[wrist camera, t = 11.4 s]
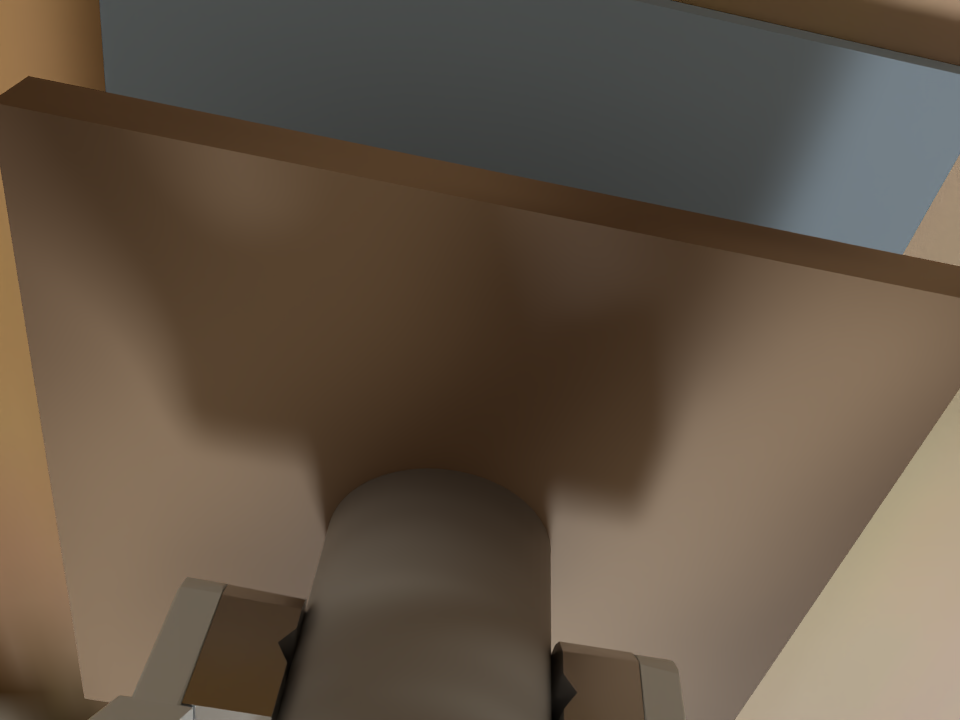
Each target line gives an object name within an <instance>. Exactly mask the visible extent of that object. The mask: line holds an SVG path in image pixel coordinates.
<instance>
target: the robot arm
mask: <svg viewBox="0 0 960 720" xmlns="http://www.w3.org/2000/svg"><path fill="white" fill-rule="evenodd" d="M306 604H307V599H303V598H298V597H293V596H287V595H282V594H277V593H271V592H266V591H261V590H255V589H250V588H245V587H240V586H234V585H229V584H226V583H220V582H214V581H208V580H202V579H196V578H191V577H186V579H185V580H184V581H183V583H182V584H181V586H180V587H179V588H178V590H177V593H176V595H175V597H174V600H173V602H172V604H171V607H170V609H169V611H168V614H167V616H166V618H165V621H164V623H163V625H162V628H161V630H160V632H159V635H158V637H157V639H156V642H155V644H154V646H153V649H152V651H151V653H150V656H149V658H148V660H147V663H146V665H145V667H144V670H143V672H142V674H141V677H140V679H139V681H138V684H137V686H136V688H135V691H134V693H133V695H132V697H130V696H122V695H119V696H118V697H116V698H115V699H114V700H113V701H111V702H110V703H109V704H107V705H106V706H105V707H104V708H102V709H101V710H100V711H98V712H97V713H96V714H95V715H93V716H92V717H91V718H89V719H88V720H277V718H278V714H279V710H280V707H281V703H282V699H283V696H284V692H285V685H286V681H287V677H288V674H289V670H290V666H291V663H292V661H293V658H294V655H295V652H296V648H297V644H298V640H299V636H300V633H301V629H302V625H303V621H304V618H305V614H306ZM551 714H552V720H686V718H685V711H684V704H683V698H682V691H681V684H680V677H679V670H678V668H677V666H676V665H675V663H674V661H671V660H669V659H662V658H655V657H648V656H642V655H635V654H633V653H632V652H625V651H619V650H612V649H606V648H599V647H593V646H587V645H580V644H574V643H567V642H561V641H559V642H558V643H557V644H556V645H555V646H554V649H553V651H552V653H551Z"/></svg>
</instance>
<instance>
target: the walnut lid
mask: <svg viewBox="0 0 960 720" xmlns="http://www.w3.org/2000/svg"><path fill="white" fill-rule="evenodd" d="M0 167H1V174H2V180H3V186H4V193H5V199H6V205H7V212H8V218H9V224H10V231H11V237H12V243H13V250H14V256H15V262H16V268H17V275H18V281H19V287H20V294H21V300H22V306H23V313H24V319H25V325H26V332H27V338H28V344H29V351H30V357H31V363H32V369H33V376H34V382H35V388H36V395H37V401H38V407H39V414H40V420H41V426H42V433H43V439H44V445H45V452H46V458H47V464H48V471H49V477H50V483H51V489H52V496H53V502H54V508H55V515H56V521H57V527H58V534H59V540H60V546H61V553H62V559H63V565H64V572H65V578H66V584H67V590H68V597H69V603H70V609H71V616H72V622H73V628H74V635H75V641H76V647H77V654H78V660H79V666H80V673H81V679H82V685H83V691H84V698H85V699H91V700H98V701H104V702H111V701H113V700H114V699H115V698H116V697H118V696H119V695H122V696H130V697H132V695H133V693H134V691H135V688H136V686H137V684H138V681H139V679H140V677H141V674H142V672H143V670H144V667H145V665H146V663H147V660H148V658H149V656H150V653H151V651H152V649H153V646H154V644H155V642H156V639H157V637H158V635H159V632H160V630H161V628H162V625H163V623H164V621H165V618H166V616H167V614H168V611H169V609H170V607H171V604H172V602H173V600H174V597H175V595H176V593H177V590H178V588H179V587H180V586H181V584H182V583H183V581H184V580H185V579H186V577H191V578H196V579H202V580H208V581H214V582H220V583H226V584H229V585H234V586H240V587H245V588H250V589H255V590H261V591H266V592H271V593H277V594H282V595H287V596H293V597H298V598H303V599H307V604H306V614H305V618H304V621H303V625H302V629H301V633H300V636H299V640H298V644H297V648H296V652H295V655H294V658H293V661H292V663H291V666H290V670H289V674H288V677H287V681H286V685H285V692H284V696H283V699H282V703H281V707H280V710H279V714H278V718H277V720H552V714H551V653H552V651H553V649H554V646H555V645H556V644H557V643H558V642H559V641H561V642H567V643H574V644H580V645H587V646H593V647H599V648H606V649H612V650H619V651H625V652H632V653H633V654H635V655H642V656H648V657H655V658H662V659H669V660H671V661H674V663H675V665H676V666H677V668H678V670H679V677H680V684H681V691H682V698H683V704H684V711H685V718H686V720H735V719H736V717H737V716H738V714H739V713H740V711H741V710H742V708H743V707H744V705H745V704H746V702H747V701H748V699H749V698H750V696H751V695H752V694H753V692H754V691H755V689H756V688H757V686H758V685H759V683H760V682H761V680H762V679H763V677H764V676H765V674H766V673H767V671H768V670H769V668H770V667H771V666H772V664H773V663H774V661H775V660H776V658H777V657H778V655H779V654H780V652H781V651H782V649H783V648H784V646H785V645H786V643H787V642H788V641H789V639H790V638H791V636H792V635H793V633H794V632H795V630H796V629H797V627H798V626H799V624H800V623H801V621H802V620H803V618H804V617H805V615H806V614H807V613H808V611H809V610H810V608H811V607H812V605H813V604H814V602H815V601H816V599H817V598H818V596H819V595H820V593H821V592H822V590H823V589H824V587H825V586H826V585H827V583H828V582H829V580H830V579H831V577H832V576H833V574H834V573H835V571H836V570H837V568H838V567H839V565H840V564H841V562H842V561H843V559H844V558H845V557H846V555H847V554H848V552H849V551H850V549H851V548H852V546H853V545H854V543H855V542H856V540H857V539H858V537H859V536H860V534H861V533H862V531H863V530H864V529H865V527H866V526H867V524H868V523H869V521H870V520H871V518H872V517H873V515H874V514H875V512H876V511H877V509H878V508H879V506H880V505H881V503H882V502H883V501H884V499H885V498H886V496H887V495H888V493H889V492H890V490H891V489H892V487H893V486H894V484H895V483H896V481H897V480H898V478H899V477H900V475H901V474H902V473H903V471H904V470H905V468H906V467H907V465H908V464H909V462H910V461H911V459H912V458H913V456H914V455H915V453H916V452H917V450H918V449H919V447H920V446H921V445H922V443H923V442H924V440H925V439H926V437H927V436H928V434H929V433H930V431H931V430H932V428H933V427H934V425H935V424H936V422H937V421H938V419H939V418H940V417H941V415H942V414H943V412H944V411H945V409H946V408H947V406H948V405H949V403H950V402H951V400H952V399H953V397H954V396H955V394H956V393H957V391H958V390H959V389H960V266H955V265H950V264H945V263H940V262H935V261H931V260H926V259H921V258H916V257H911V256H906V255H901V254H896V253H891V252H886V251H882V250H877V249H872V248H867V247H862V246H857V245H852V244H847V243H842V242H838V241H833V240H828V239H823V238H818V237H813V236H808V235H803V234H798V233H794V232H789V231H784V230H779V229H774V228H769V227H764V226H759V225H754V224H749V223H745V222H740V221H735V220H730V219H725V218H720V217H715V216H710V215H705V214H701V213H696V212H691V211H686V210H681V209H676V208H671V207H666V206H661V205H657V204H652V203H647V202H642V201H637V200H632V199H627V198H622V197H617V196H612V195H608V194H603V193H598V192H593V191H588V190H583V189H578V188H573V187H568V186H564V185H559V184H554V183H549V182H544V181H539V180H534V179H529V178H524V177H519V176H515V175H510V174H505V173H500V172H495V171H490V170H485V169H480V168H475V167H471V166H466V165H461V164H456V163H451V162H446V161H441V160H436V159H431V158H427V157H422V156H417V155H412V154H407V153H402V152H397V151H392V150H387V149H382V148H378V147H373V146H368V145H363V144H358V143H353V142H348V141H343V140H338V139H334V138H329V137H324V136H319V135H314V134H309V133H304V132H299V131H294V130H290V129H285V128H280V127H275V126H270V125H265V124H260V123H255V122H250V121H245V120H241V119H236V118H231V117H226V116H221V115H216V114H211V113H206V112H201V111H197V110H192V109H187V108H182V107H177V106H172V105H167V104H162V103H157V102H152V101H148V100H143V99H138V98H133V97H128V96H123V95H118V94H113V93H108V92H104V91H99V90H94V89H89V88H84V87H79V86H74V85H69V84H64V83H60V82H55V81H50V80H45V79H40V78H35V77H30V76H28V77H26V78H25V79H23V80H22V81H21V82H19V83H18V84H16V85H15V86H13V87H12V88H10V89H9V90H7V91H6V92H4V93H3V94H1V95H0Z"/></svg>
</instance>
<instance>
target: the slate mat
mask: <svg viewBox="0 0 960 720" xmlns="http://www.w3.org/2000/svg"><path fill="white" fill-rule="evenodd" d="M99 3H100V17H101V31H102V45H103V60H104V74H105V88H106V92H108V93H113V94H118V95H123V96H128V97H133V98H138V99H143V100H148V101H152V102H157V103H162V104H167V105H172V106H177V107H182V108H187V109H192V110H197V111H201V112H206V113H211V114H216V115H221V116H226V117H231V118H236V119H241V120H245V121H250V122H255V123H260V124H265V125H270V126H275V127H280V128H285V129H290V130H294V131H299V132H304V133H309V134H314V135H319V136H324V137H329V138H334V139H338V140H343V141H348V142H353V143H358V144H363V145H368V146H373V147H378V148H382V149H387V150H392V151H397V152H402V153H407V154H412V155H417V156H422V157H427V158H431V159H436V160H441V161H446V162H451V163H456V164H461V165H466V166H471V167H475V168H480V169H485V170H490V171H495V172H500V173H505V174H510V175H515V176H519V177H524V178H529V179H534V180H539V181H544V182H549V183H554V184H559V185H564V186H568V187H573V188H578V189H583V190H588V191H593V192H598V193H603V194H608V195H612V196H617V197H622V198H627V199H632V200H637V201H642V202H647V203H652V204H657V205H661V206H666V207H671V208H676V209H681V210H686V211H691V212H696V213H701V214H705V215H710V216H715V217H720V218H725V219H730V220H735V221H740V222H745V223H749V224H754V225H759V226H764V227H769V228H774V229H779V230H784V231H789V232H794V233H798V234H803V235H808V236H813V237H818V238H823V239H828V240H833V241H838V242H842V243H847V244H852V245H857V246H862V247H867V248H872V249H877V250H882V251H886V252H891V253H896V254H901V255H902V254H903V253H904V251H905V249H906V247H907V246H908V244H909V242H910V240H911V239H912V237H913V235H914V233H915V232H916V230H917V228H918V226H919V225H920V223H921V221H922V219H923V217H924V216H925V214H926V212H927V210H928V209H929V207H930V205H931V203H932V202H933V200H934V198H935V196H936V195H937V193H938V191H939V189H940V188H941V186H942V184H943V182H944V181H945V179H946V177H947V175H948V174H949V172H950V170H951V168H952V167H953V165H954V163H955V161H956V160H957V158H958V156H959V154H960V66H957V65H953V64H948V63H944V62H939V61H935V60H931V59H926V58H922V57H917V56H913V55H909V54H904V53H900V52H895V51H891V50H887V49H882V48H878V47H874V46H869V45H865V44H860V43H856V42H852V41H847V40H843V39H838V38H834V37H830V36H825V35H821V34H816V33H812V32H808V31H803V30H799V29H794V28H790V27H786V26H781V25H777V24H772V23H768V22H764V21H759V20H755V19H750V18H746V17H742V16H737V15H733V14H728V13H724V12H720V11H715V10H711V9H706V8H702V7H698V6H693V5H689V4H684V3H680V2H676V1H671V0H99Z"/></svg>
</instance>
